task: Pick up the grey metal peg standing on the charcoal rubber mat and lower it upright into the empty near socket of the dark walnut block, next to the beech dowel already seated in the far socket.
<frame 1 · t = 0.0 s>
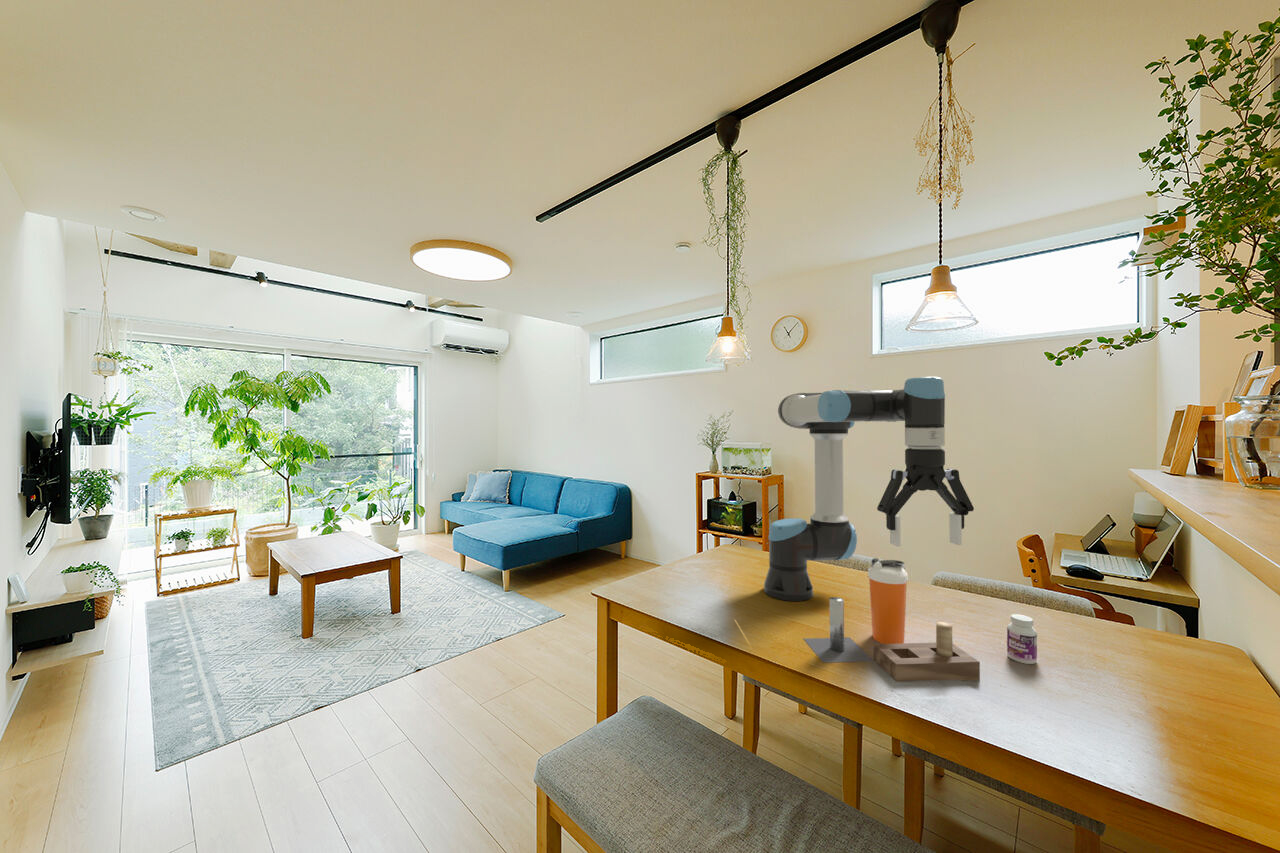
hand: (925, 544, 103), 28 cm above the table, fingers open, 13 cm apart
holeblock: (924, 670, 104), on the table
peg: (837, 649, 113), resting on mat
mat: (837, 650, 113), on the table
dowel: (944, 670, 104), resting in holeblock
pill bottle: (1022, 659, 108), on the table
shaker bottle: (888, 641, 118), on the table
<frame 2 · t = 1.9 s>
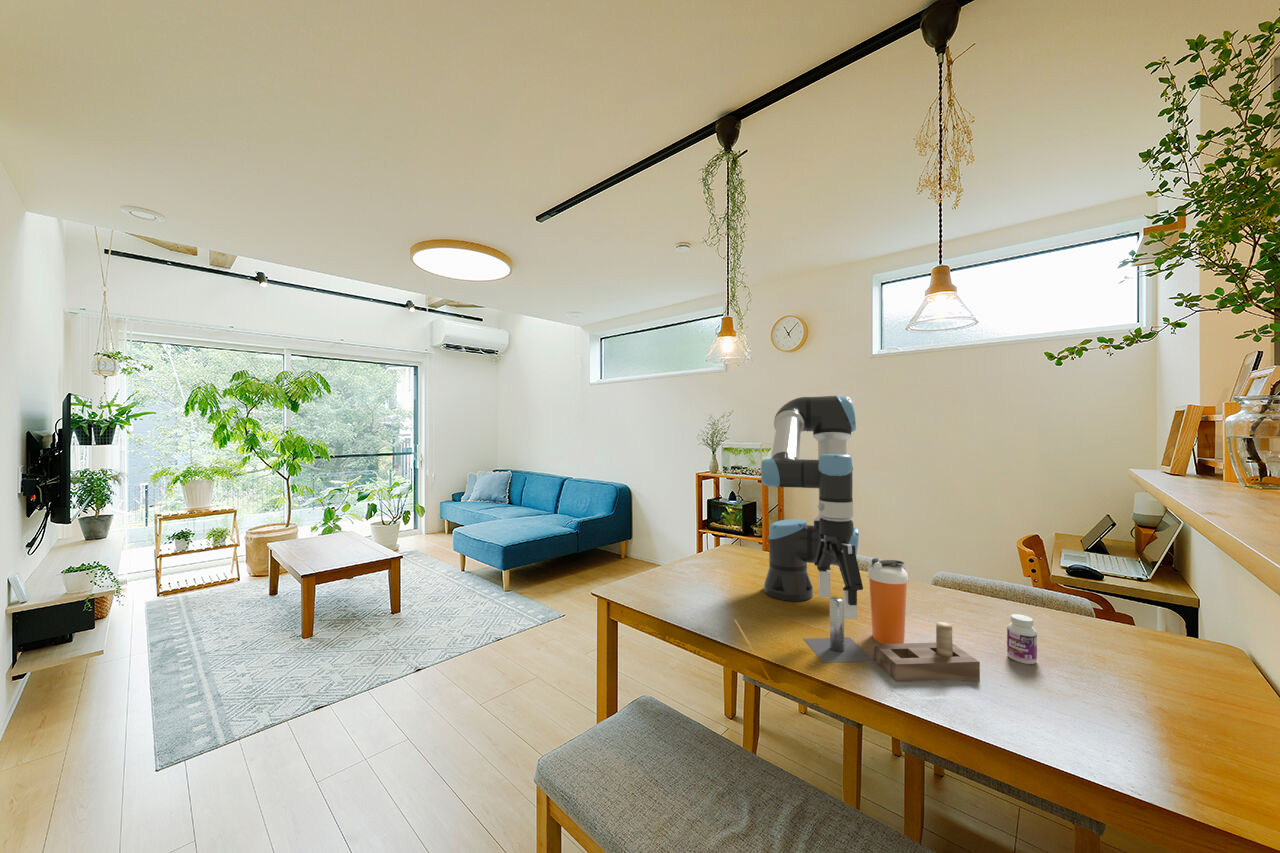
hand: (836, 607, 113), 11 cm above the table, fingers open, 13 cm apart
nothing on the table moved.
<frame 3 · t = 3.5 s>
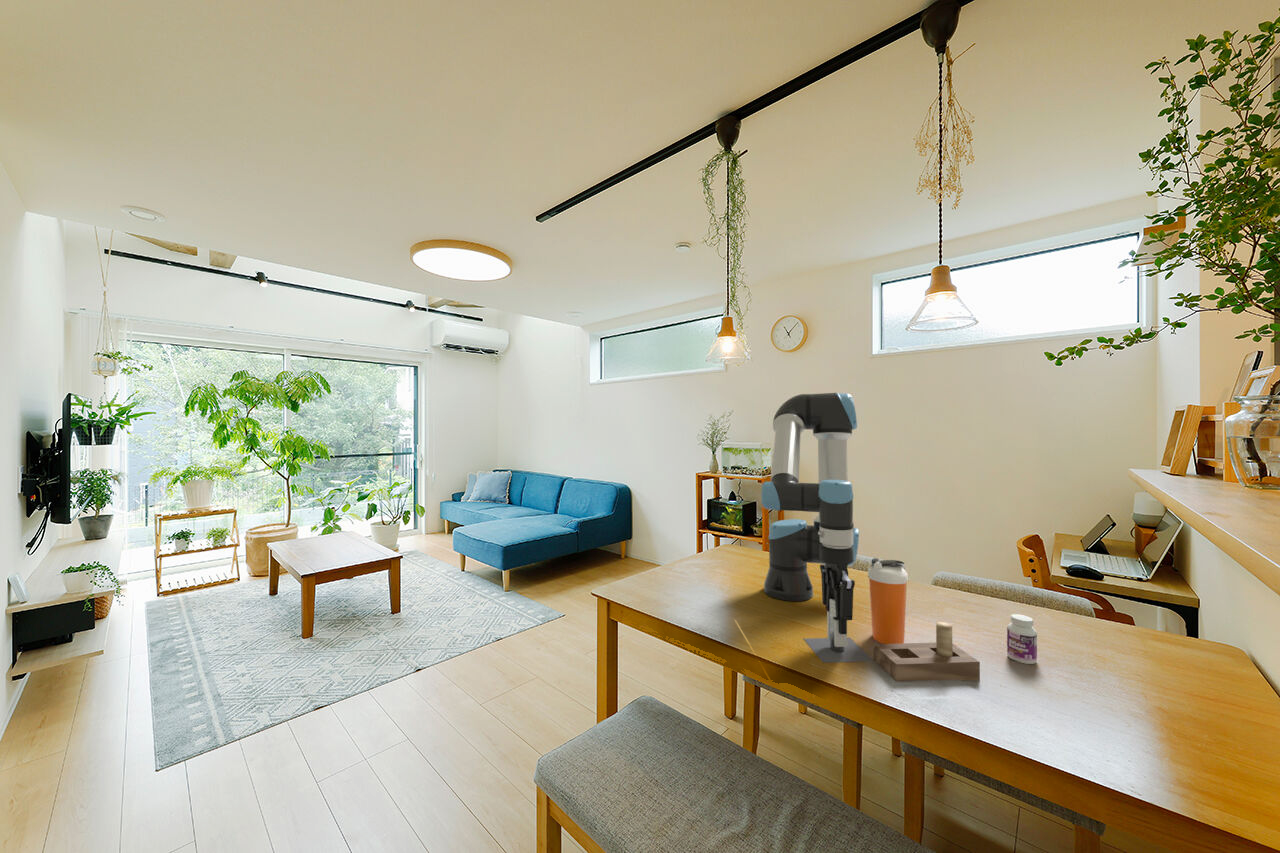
hand: (837, 641, 113), 2 cm above the table, fingers closed on peg, 3 cm apart
peg: (837, 649, 113), resting on mat, touching gripper
everything else where it was.
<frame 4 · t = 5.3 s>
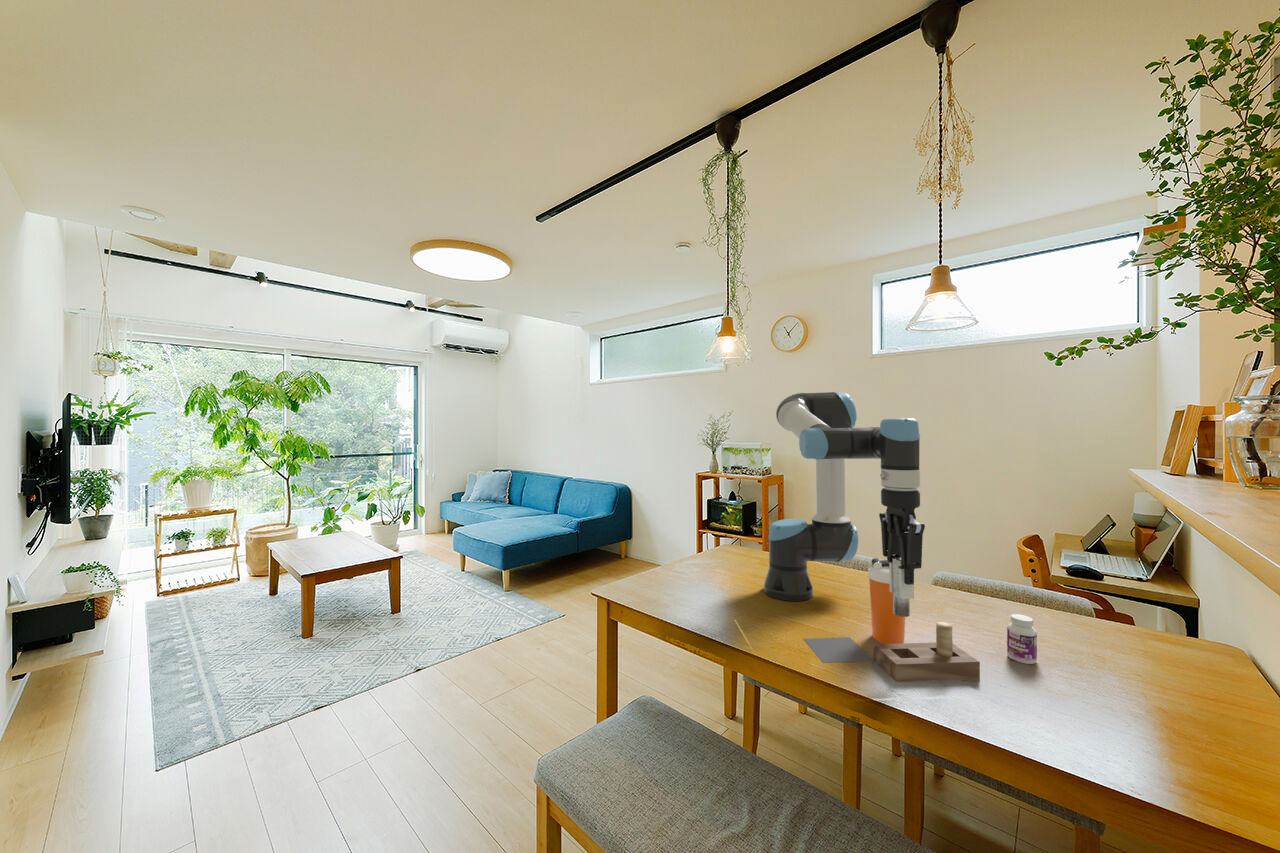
hand: (901, 594, 103), 17 cm above the table, fingers closed on peg, 3 cm apart
peg: (901, 613, 103), point 13 cm above the table, touching gripper
everything else where it was.
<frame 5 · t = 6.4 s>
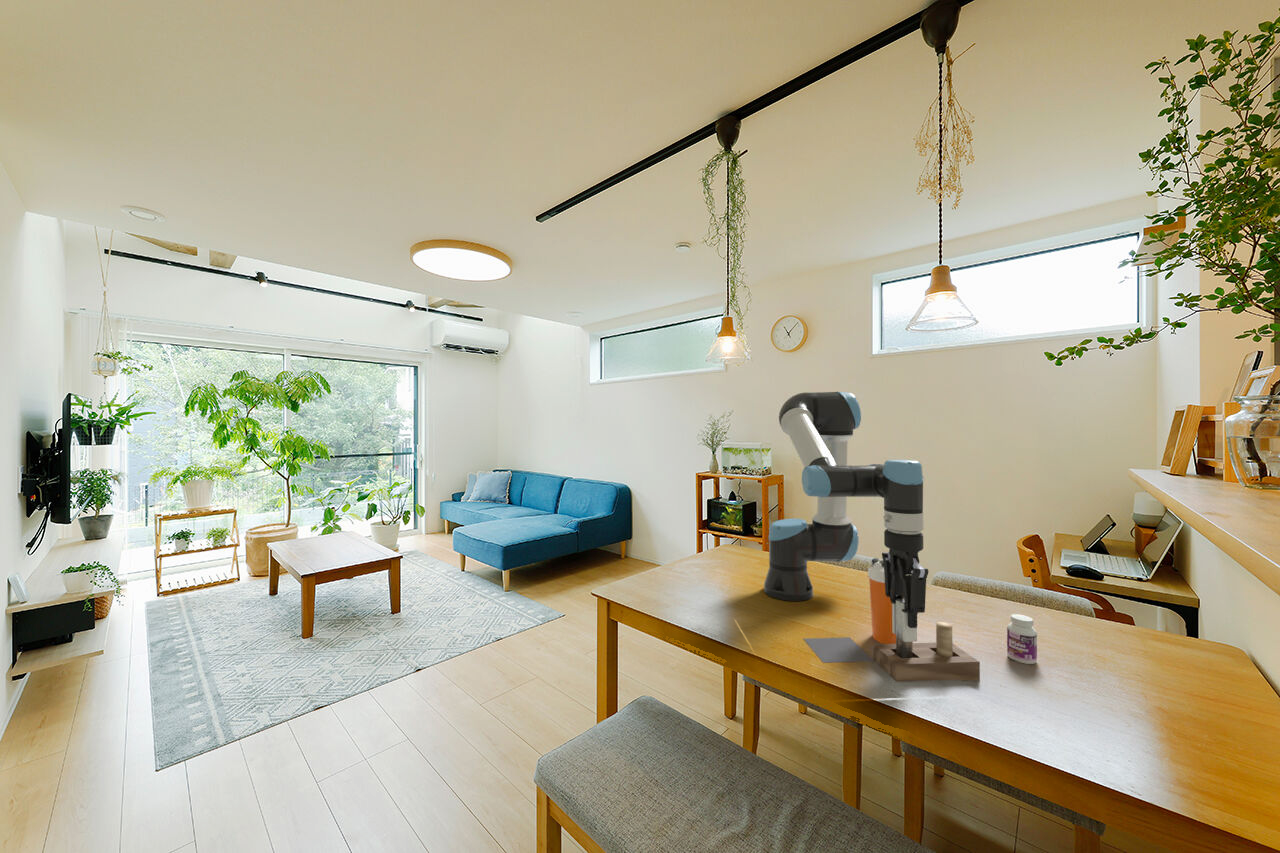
hand: (904, 636, 103), 8 cm above the table, fingers closed on peg, 3 cm apart
peg: (904, 655, 103), point 3 cm above the table, touching gripper
everything else where it was.
when the fingers open (5 cm above the table, at t = 7.2 s): peg stays where it is, resting in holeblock.
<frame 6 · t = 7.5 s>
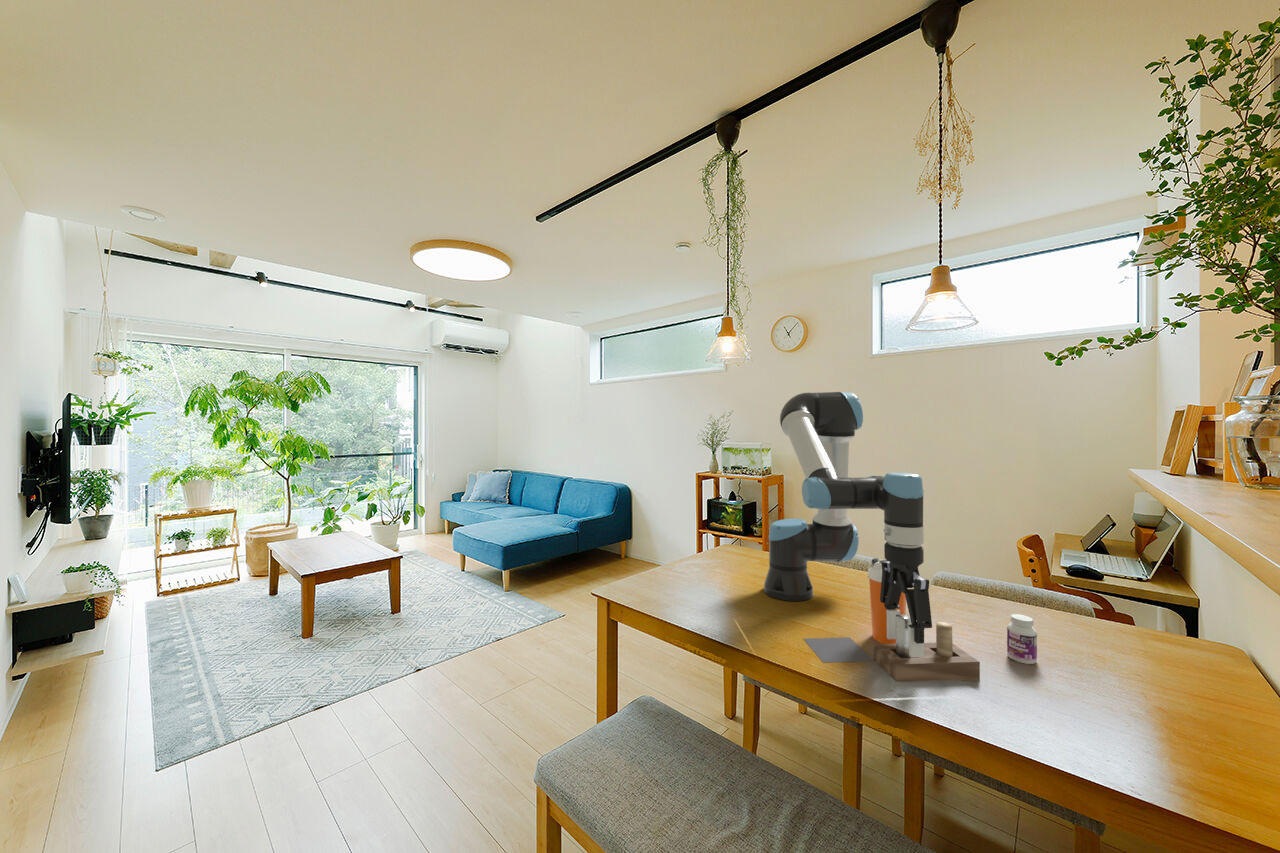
hand: (904, 646, 103), 5 cm above the table, fingers open, 8 cm apart
peg: (904, 671, 103), resting in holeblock
everything else where it was.
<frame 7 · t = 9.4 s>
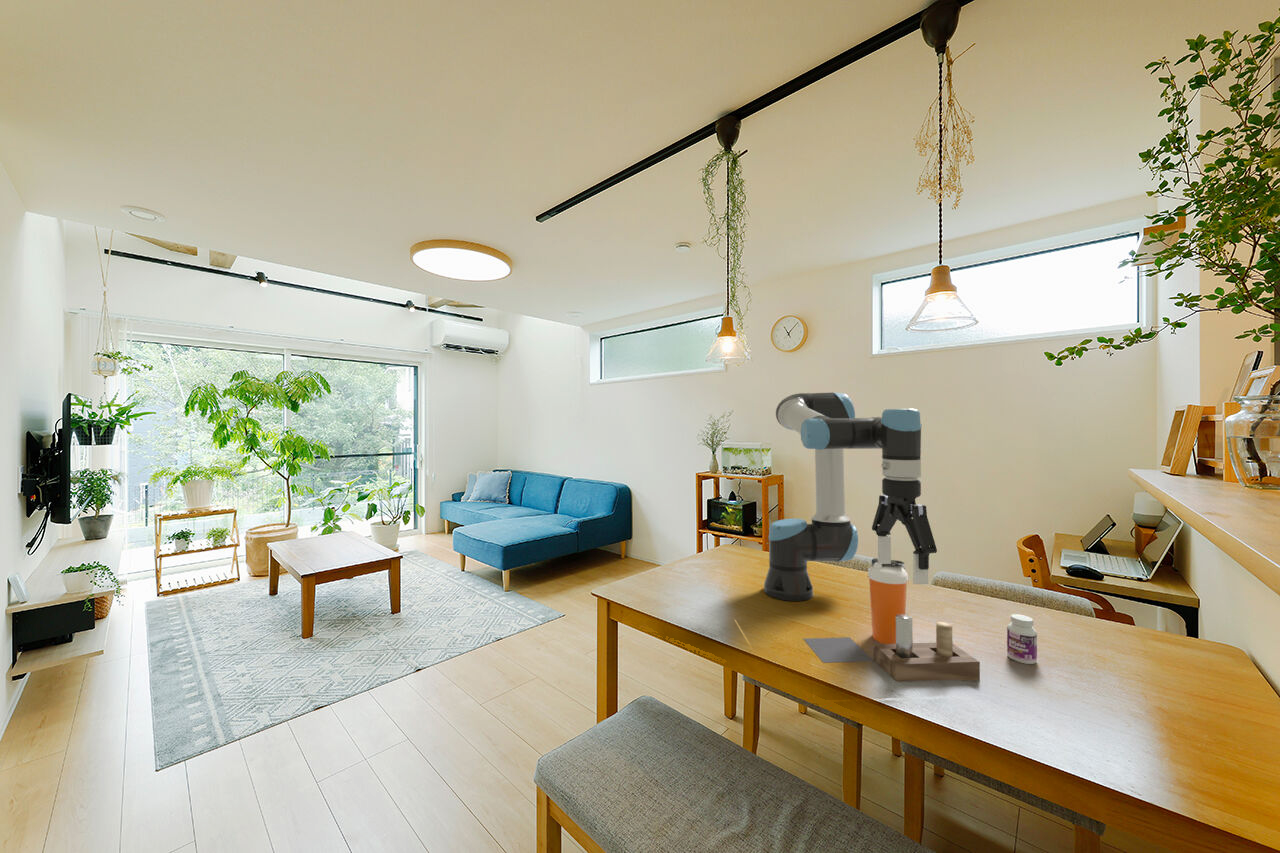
hand: (901, 573, 105), 21 cm above the table, fingers open, 13 cm apart
nothing on the table moved.
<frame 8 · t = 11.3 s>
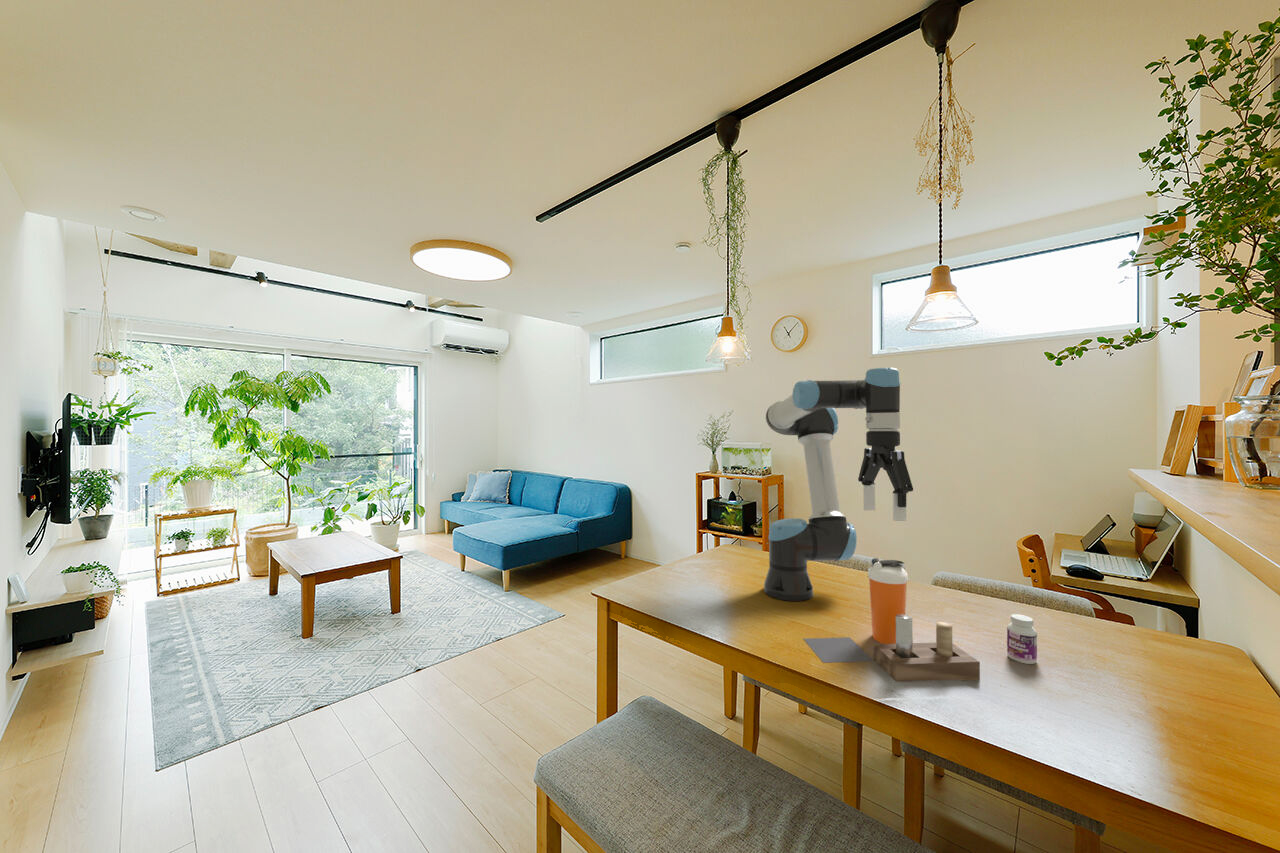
hand: (883, 515, 117), 32 cm above the table, fingers open, 13 cm apart
nothing on the table moved.
at the end: peg 0.1 cm from the target spot on the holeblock, point 0.0 cm above the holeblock's base; peg tilted 0°; the gripper is holding nothing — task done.
